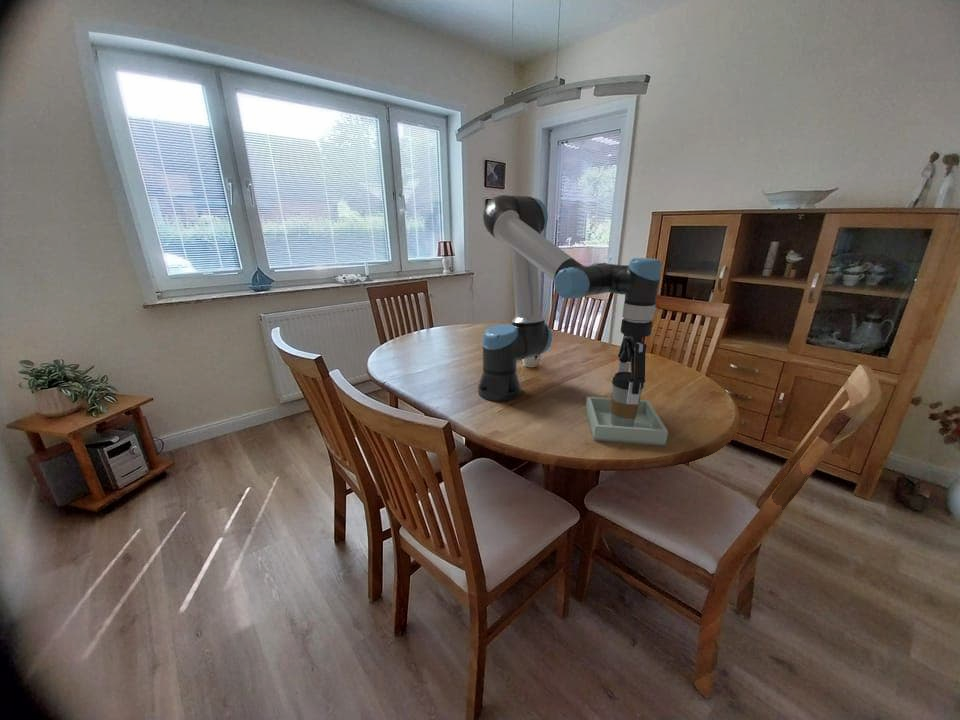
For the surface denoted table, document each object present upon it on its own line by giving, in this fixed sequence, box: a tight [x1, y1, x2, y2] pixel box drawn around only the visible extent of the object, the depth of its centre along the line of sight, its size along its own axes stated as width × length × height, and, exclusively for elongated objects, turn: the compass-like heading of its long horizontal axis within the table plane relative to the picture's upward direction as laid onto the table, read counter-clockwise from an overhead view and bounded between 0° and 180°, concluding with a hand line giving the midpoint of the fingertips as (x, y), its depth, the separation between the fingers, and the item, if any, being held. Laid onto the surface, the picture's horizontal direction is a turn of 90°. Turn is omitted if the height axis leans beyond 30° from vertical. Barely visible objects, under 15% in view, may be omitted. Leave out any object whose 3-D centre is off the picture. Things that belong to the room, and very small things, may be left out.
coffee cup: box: [610, 371, 645, 427], centre depth 103 cm, size 8×8×15 cm
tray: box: [585, 396, 669, 447], centre depth 105 cm, size 18×18×4 cm
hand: (626, 392), depth 102 cm, fingers open, 13 cm apart
